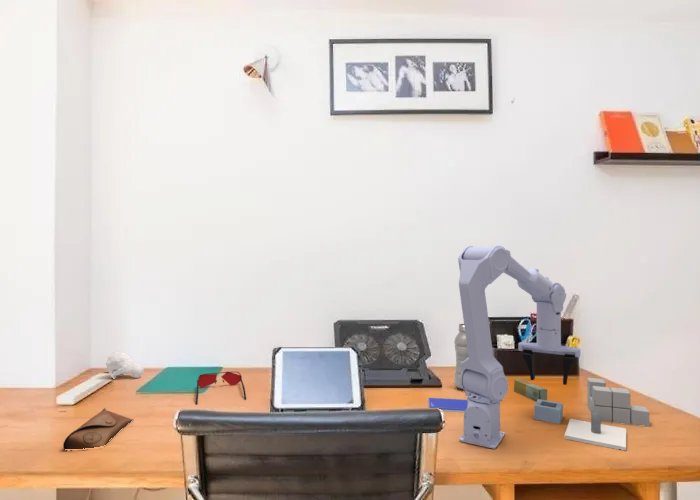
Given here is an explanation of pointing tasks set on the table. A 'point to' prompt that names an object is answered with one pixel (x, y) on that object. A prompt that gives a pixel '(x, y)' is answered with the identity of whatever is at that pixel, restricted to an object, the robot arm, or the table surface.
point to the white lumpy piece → (123, 365)
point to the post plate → (596, 433)
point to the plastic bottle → (460, 353)
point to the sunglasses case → (96, 431)
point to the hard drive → (448, 404)
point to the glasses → (211, 378)
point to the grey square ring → (548, 411)
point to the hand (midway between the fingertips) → (548, 381)
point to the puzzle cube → (614, 404)
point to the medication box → (530, 390)
